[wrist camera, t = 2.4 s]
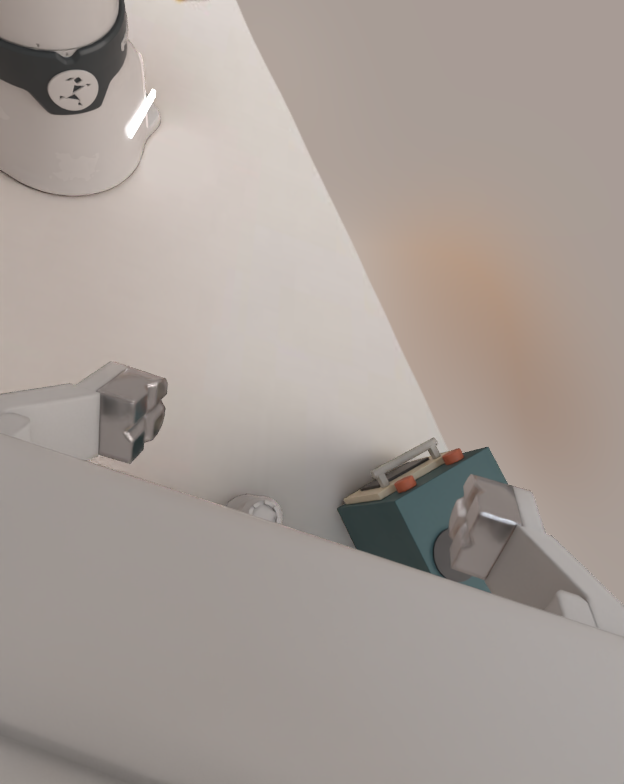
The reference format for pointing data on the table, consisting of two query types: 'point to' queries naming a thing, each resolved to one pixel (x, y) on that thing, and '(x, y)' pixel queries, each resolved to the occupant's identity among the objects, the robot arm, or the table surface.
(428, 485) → the toy oven
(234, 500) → the rook chess piece
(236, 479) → the table surface
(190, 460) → the table surface
